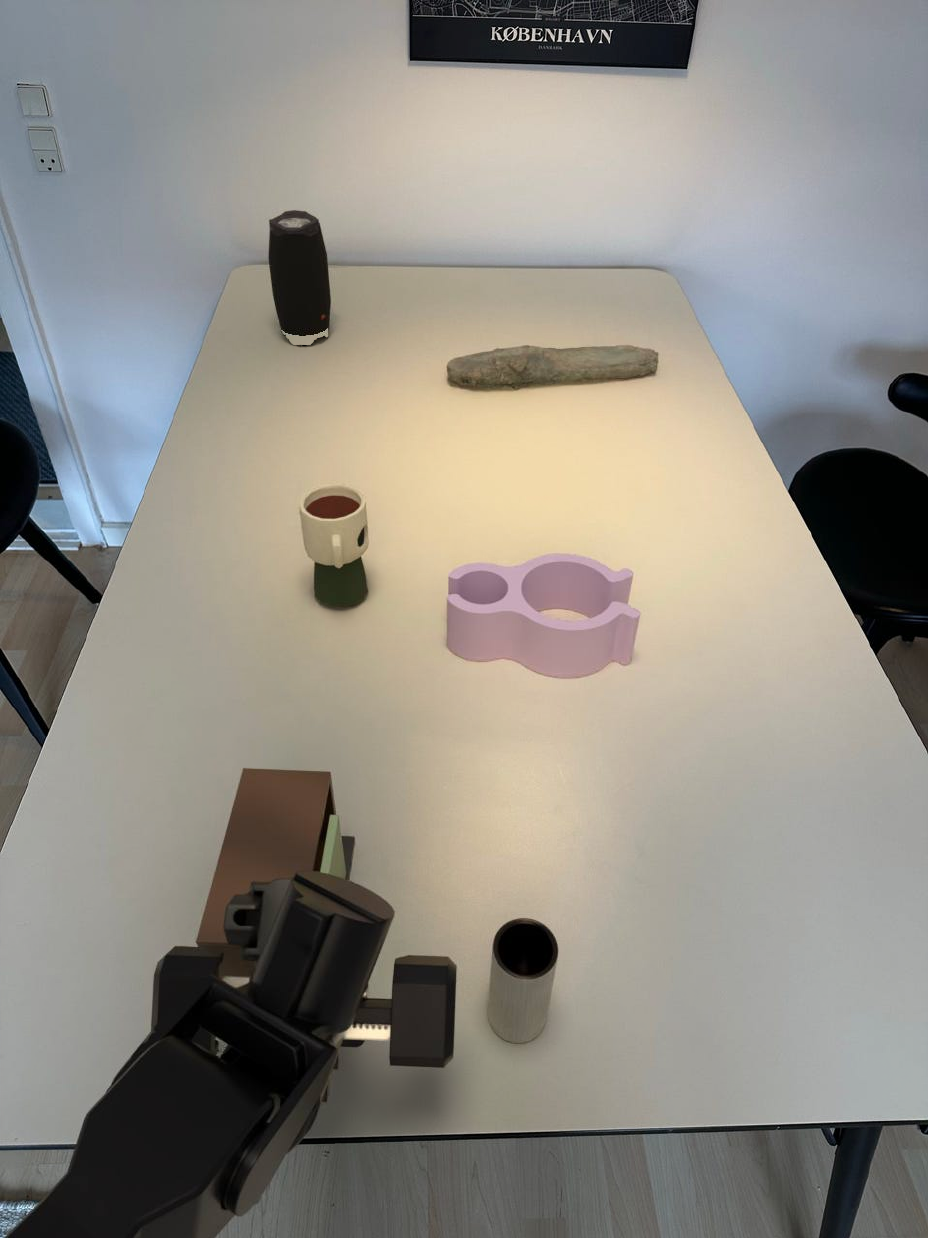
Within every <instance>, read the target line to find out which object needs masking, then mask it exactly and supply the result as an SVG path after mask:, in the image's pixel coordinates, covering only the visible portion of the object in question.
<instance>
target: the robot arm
mask: <svg viewBox="0 0 928 1238" xmlns="http://www.w3.org/2000/svg"><path fill="white" fill-rule="evenodd" d="M395 914H396V912H395V910H394V907H393V906H392V905H391V904H390V903H389V902H388V901H387V900H386V899H384V898H383V897H382V896H380V895H379V894H377V893H375V892H374V891H372V890H370V889H368V888H367V887H366V886H363V885H360V884H359V883H356V882H354V881H352V880H350V879H349V880H346V879H343V878H341V877H338V876H334V875H331V874H327V873H322V872H317V871H298V872H296V873H295V875H294V876H293V877H292V879H287V878H278V879H275V880H272V881H271V882H254V881H252V882H251V885H250V890H249V892H248V893H247V894H235V895H234V896H233V897H232V899H231V900H230V902H229V903H228V904H227V906H226V910H225V917H224V925H223V928H224V932H225V936H226V939H227V942H228V944H229V945H232V946H241V948H242V960H243V961H255V962H254V967H253V968H252V969H251V971H250V974H249V976H229V975H225V976H223V977H222V978H221V979H220V978H218V976H219V965H220V964H221V963H222V962H223V953H224V952H223V951H221V950H219V949H217V948H215V947H198V946H190V945H189V946H188V945H187V946H186V945H174V947H172V948H171V949H170V950H169V951H168V952H167V953H166V954H165V955H163V957H161V958H160V959H159V960H158V961H157V963H156V967H155V969H154V973H153V982H152V983H153V984H152V1000H151V1001H152V1002H151V1018H150V1019H151V1020H150V1022H151V1023H150V1031H149V1032H148V1034H147V1035H146V1037H145V1038H144V1039H143V1040H142V1042H141V1043H140V1044H139V1045H138V1047H136V1049H135V1050H134V1052H133V1053H132V1054H131V1055H130V1057H129V1058H128V1059H127V1061H125V1063H124V1064H123V1066H122V1067H121V1068H120V1069H119V1071H118V1072H117V1073H116V1075H115V1076H114V1077H113V1079H112V1081H111V1083H110V1086H109V1087H108V1088H107V1089H106V1091H105V1093H104V1094H103V1095H102V1096H101V1097H100V1098H99V1099H98V1100H97V1101H96V1102H95V1104H94V1105H93V1106H92V1107H91V1108H90V1109H89V1110H88V1111H87V1112H86V1114H85V1117H84V1119H83V1122H82V1125H81V1128H80V1131H79V1135H78V1137H77V1140H76V1143H75V1146H74V1150H73V1153H72V1155H71V1158H70V1162H69V1165H68V1167H67V1171H66V1172H65V1174H64V1175H62V1177H61V1178H60V1179H59V1180H58V1181H57V1182H56V1184H55V1185H54V1186H53V1187H52V1188H51V1189H50V1190H49V1192H48V1193H47V1194H46V1195H45V1196H43V1198H42V1199H41V1200H40V1201H39V1202H38V1203H37V1204H36V1205H35V1206H34V1208H32V1209H31V1210H30V1211H29V1212H28V1213H27V1214H26V1215H25V1216H24V1217H23V1218H22V1219H21V1220H20V1221H19V1222H18V1223H17V1224H16V1225H15V1226H14V1227H13V1228H12V1229H11V1230H9V1232H8V1233H7V1234H5V1236H4V1237H3V1238H216V1237H218V1235H219V1234H220V1233H221V1232H222V1230H223V1229H224V1228H225V1227H226V1226H227V1225H228V1224H229V1223H230V1222H231V1220H232V1219H233V1218H234V1217H235V1216H236V1217H243V1216H244V1215H246V1214H248V1213H249V1211H251V1209H252V1208H254V1206H255V1205H258V1204H259V1202H260V1201H261V1198H262V1196H263V1194H264V1193H265V1191H266V1190H267V1189H268V1186H269V1185H270V1183H271V1182H272V1180H273V1178H274V1176H275V1175H276V1173H277V1171H278V1170H279V1168H280V1166H281V1164H282V1163H283V1160H284V1159H285V1158H286V1156H287V1155H288V1154H289V1153H291V1152H292V1151H293V1150H294V1149H295V1148H297V1146H298V1145H299V1144H300V1143H301V1142H302V1141H303V1140H304V1138H305V1137H306V1135H307V1134H308V1133H309V1131H310V1130H311V1129H312V1127H313V1126H314V1123H315V1121H316V1119H317V1116H318V1113H319V1111H320V1108H321V1105H322V1103H327V1102H328V1100H329V1097H330V1094H331V1093H330V1092H331V1075H332V1073H333V1070H339V1068H340V1063H341V1054H342V1053H341V1052H342V1048H359V1047H361V1046H362V1045H363V1044H364V1043H365V1041H377V1042H378V1041H380V1042H381V1041H382V1042H388V1041H389V1054H388V1055H389V1057H388V1058H389V1066H391V1067H393V1066H394V1067H415V1068H439V1069H444V1068H446V1067H447V1065H448V1064H449V1063H450V1062H451V1061H452V1060H453V1059H454V1054H455V1032H456V1031H455V1028H456V1025H455V1024H456V1001H457V1000H456V997H457V974H458V973H457V971H458V970H457V968H458V966H457V964H456V963H455V962H454V961H453V960H452V959H451V958H450V957H449V956H446V955H443V956H442V955H419V954H417V955H416V954H407V955H404V956H400V957H396V958H395V959H394V962H393V971H392V972H393V973H392V984H391V998H381V997H380V998H379V997H369V983H370V979H371V977H372V974H373V972H374V969H375V966H376V964H377V962H378V959H379V957H380V954H381V952H382V948H383V947H384V944H385V941H386V939H387V936H388V934H389V931H390V928H391V926H392V924H393V921H394V918H395ZM216 1038H217V1039H219V1040H220V1041H222V1042H224V1043H225V1044H226V1046H225V1048H224V1049H223V1051H222V1053H221V1054H220V1056H218V1055H217V1054H218V1053H219V1052H220V1041H218V1040H217V1039H216Z"/></svg>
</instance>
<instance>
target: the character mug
mask: <svg viewBox="0 0 928 1238" xmlns="http://www.w3.org/2000/svg"><path fill="white" fill-rule="evenodd" d="M298 509H299V516H300V526H301V531H302V532H301V533H302V539H303V547H304V550H305V552H306V555H307V557H308V558H309V559H310V560H312V561H313V562H314V566H313V593H314V598H316V600H318V602H320V603H322V604H325V605H328V606H333V607H348V606H355V605H357V604H359V603H360V602H362V601H363V600H365V598H366V597H367V595H368V593H369V588H368V580H367V575H366V570H365V566H364V561H363V558H362V556H363V555H364V554H365V553H366V552H367V550H368V548H369V542H370V541H369V525H368V524H369V522H368V512H367V511H368V510H367V499H366V497H365V495H364V494H363V492H362V491H361V490H360V489H358V488H356V487H355V486H351V485H348V484H344V483H326V484H322V485H321V484H320V485H316V486H315V487H313V488H311V489H309V490H307V491H306V492H305V493H304V494H302V495H301V497H300V501H299V503H298Z"/></svg>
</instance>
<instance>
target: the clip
mask: <svg viewBox="0 0 928 1238" xmlns="http://www.w3.org/2000/svg"><path fill="white" fill-rule="evenodd" d="M633 578H634V571H633V570H632V569H630V568H628V567H624V568H621V569H619V570H613V569H611V567H609V566H607V565H606V564H604V563H602V562H601V561H598V560H596V559H594V558H591V557H587V556H584V555H579V554H574V553H549V554H543V555H540V556H536V557H533V558H531V559H529V560H527V561H525V562H523V563H520V564H517V565H511V566H509V565H508V566H506V565H499V564H496V563H491V562H471V563H466V564H462V565H460V566H458V567H456V568H454V569H453V570H451V571H450V572H449V573H448V581H447V583H448V587H447V590H448V591H447V593H448V594H447V596H446V648H447V649H448V650H449V651H450V652H451V653H452V654H454V655H455V656H457V657H460V658H461V659H464V660H468V661H472V662H489V661H495V660H502V659H504V660H511V661H515V662H517V663H519V664H521V665H522V666H524V667H525V668H527V669H528V670H530V671H532V672H534V673H537V674H540V675H543V676H547V677H551V678H558V679H576V678H582V677H587V676H590V675H593V674H595V673H597V672H599V671H601V670H602V669H604V668H606V667H607V666H608V665H609V664H610V663H611V662H615V663H618V664H620V665H622V666H629V664H630V663H632V657H633V652H634V647H635V643H636V639H637V638H636V637H637V634H638V628H639V622H640V619H641V611H640V610H639V609H637V608H635V607H633V606H631V605H629V600H630V595H631V594H630V593H631V590H632V584H633ZM553 609H557V610H559V609H561V610H568V611H569V610H570V611H573V612H576V613H579V614H582V615H584V616H586V617H588V618H587V619H581V620H563V619H557V618H554V617H550V616H547V615H545V614H543V613H540V612H541V611H542V612H543V611H544V610H553Z"/></svg>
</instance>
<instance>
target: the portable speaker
mask: <svg viewBox="0 0 928 1238" xmlns="http://www.w3.org/2000/svg"><path fill="white" fill-rule="evenodd" d="M268 226H269V233H268V234H269V236H268V264H269V266H268V267H269V274H270V275H269V276H270V282H271V291H272V297H273V302H274V303H273V304H274V309H275V312H276V316H277V320H278V324H279V328H280V331H281V330H283V331H284V332H285V333H288V334H292V335H299V336H306V335H314V334H318V333H320V332H323V331H325V330H326V329H327V328H328V327H329V328H330V321H331V308H332V307H331V306H332V298H331V297H332V296H331V287H330V274H329V260H328V252H327V249H326V244H325V240H324V235H323V232H322V227H321V223H320V220H319V219H318V218H317V217H316V216H314V215H313V214H311V213H309V212H307V211H306V210H298V209H293V210H286V211H285V210H284V211H283V212H282V213H281V214H279V215H277V216H275V217H273V218H270V219H268Z"/></svg>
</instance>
